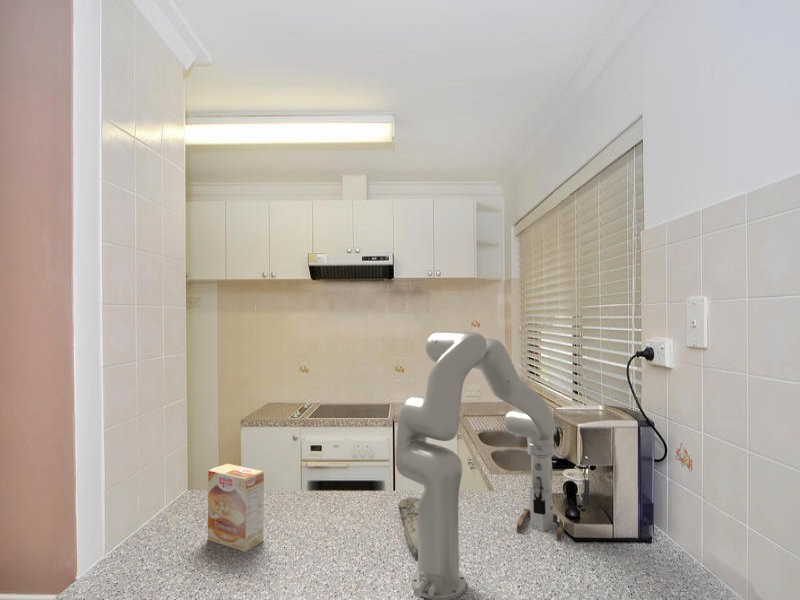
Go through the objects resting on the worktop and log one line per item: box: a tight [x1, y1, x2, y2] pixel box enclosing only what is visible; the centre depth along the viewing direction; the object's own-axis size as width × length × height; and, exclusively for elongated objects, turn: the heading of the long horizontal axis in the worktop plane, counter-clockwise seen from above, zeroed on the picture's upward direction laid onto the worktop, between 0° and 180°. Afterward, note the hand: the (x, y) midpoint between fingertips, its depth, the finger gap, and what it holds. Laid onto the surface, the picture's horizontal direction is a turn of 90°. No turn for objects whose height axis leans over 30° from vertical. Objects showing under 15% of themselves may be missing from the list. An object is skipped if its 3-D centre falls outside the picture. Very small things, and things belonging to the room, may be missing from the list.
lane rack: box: [516, 508, 565, 542], centre depth 130 cm, size 12×12×2 cm
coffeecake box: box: [207, 463, 265, 553], centre depth 124 cm, size 15×7×20 cm, turn 62°
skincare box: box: [529, 484, 554, 533], centre depth 131 cm, size 6×4×12 cm
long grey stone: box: [397, 496, 420, 560], centre depth 130 cm, size 35×5×10 cm
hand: (542, 506), depth 131 cm, fingers open, 9 cm apart
